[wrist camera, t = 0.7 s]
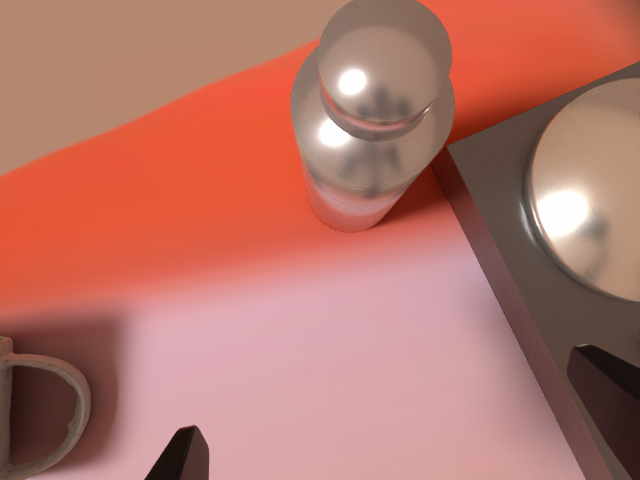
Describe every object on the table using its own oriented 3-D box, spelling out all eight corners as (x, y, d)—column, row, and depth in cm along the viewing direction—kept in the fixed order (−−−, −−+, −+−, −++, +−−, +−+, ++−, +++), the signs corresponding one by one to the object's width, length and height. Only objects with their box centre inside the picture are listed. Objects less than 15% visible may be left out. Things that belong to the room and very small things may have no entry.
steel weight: (406, 211, 22) (526, 103, 9) (328, 246, 22) (332, 188, 9) (370, 136, 23) (433, -70, 10) (294, 169, 23) (248, 6, 9)
